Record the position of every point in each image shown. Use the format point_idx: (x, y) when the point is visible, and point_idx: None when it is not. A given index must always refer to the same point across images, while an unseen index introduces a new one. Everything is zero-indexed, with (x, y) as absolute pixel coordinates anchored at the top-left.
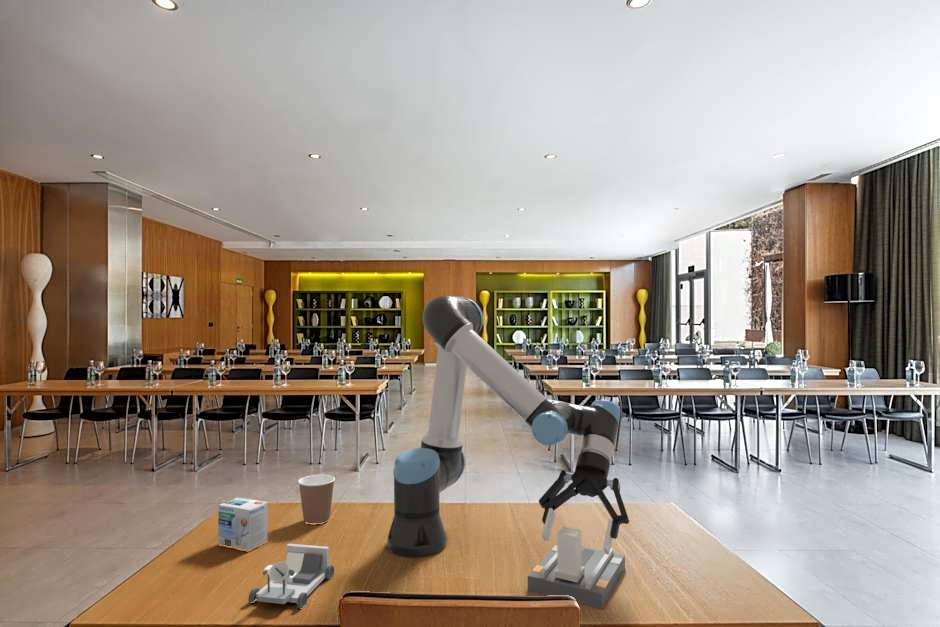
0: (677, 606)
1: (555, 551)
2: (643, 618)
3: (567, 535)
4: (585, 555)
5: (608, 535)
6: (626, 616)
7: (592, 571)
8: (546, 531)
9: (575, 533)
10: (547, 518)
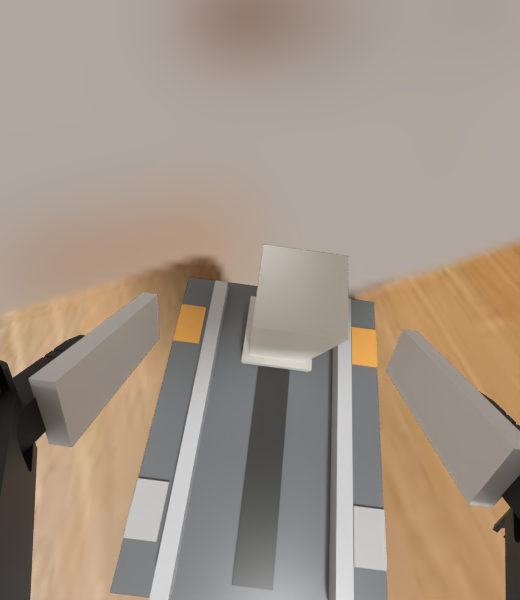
0: (22, 358)
1: (366, 503)
2: (113, 284)
3: (300, 250)
4: (258, 508)
5: (112, 318)
6: (147, 281)
7: (222, 389)
8: (412, 345)
9: (271, 276)
10: (466, 384)
